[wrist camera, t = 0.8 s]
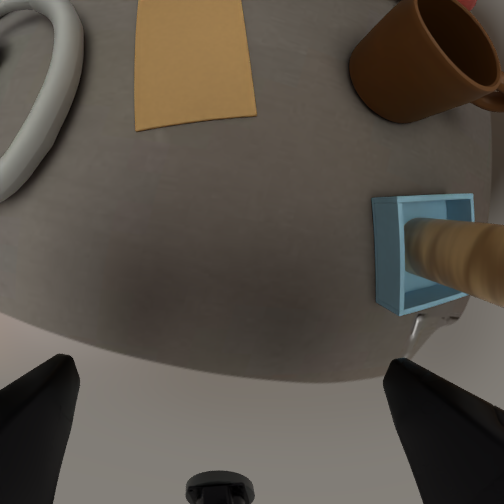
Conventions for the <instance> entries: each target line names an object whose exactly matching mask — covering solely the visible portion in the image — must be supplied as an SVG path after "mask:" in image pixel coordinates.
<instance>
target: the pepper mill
mask: <svg viewBox="0 0 504 504" xmlns="http://www.w3.org/2000/svg"><path fill="white" fill-rule="evenodd" d="M404 244H405V271H407V272H409V273H411V274H414V275H417V276H419V277H422V278H425V279H428V280H431V281H433V282H436V283H439V284H442V285H444V286H447V287H450V288H453V289H455V290H458V291H461V292H463V293H466V294H469V295H471V296H474V297H477V298H479V299H482V300H484V301H487V302H490V303H492V304H495V305H498V306H500V307H503V308H504V225H498V224H489V223H479V222H469V221H458V220H446V219H433V218H413V219H411V220H409V221H408V222H407V223H406V224H405V225H404Z"/></svg>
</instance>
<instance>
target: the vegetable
mask: <svg viewBox="0 0 504 504" xmlns="http://www.w3.org/2000/svg"><path fill="white" fill-rule="evenodd" d="M457 1H458V2H460V3H461V4H462V5H463V6H464V7H466V8H467V9H468V10H469V11H470V10H472V8H473V7H474V6H475V4H476V1H477V0H457Z"/></svg>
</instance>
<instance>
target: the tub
mask: <svg viewBox="0 0 504 504" xmlns="http://www.w3.org/2000/svg"><path fill="white" fill-rule="evenodd" d="M371 200H372V211H373V225H374V242H375V269H376V303H378V304H380V305H381V306H383V307H385V308H386V309H388V310H390V311H391V312H393V313H395V314H396V315H398V316H402V315H405V314H409V313H412V312H416V311H419V310H423V309H426V308H429V307H433V306H436V305H439V304H442V303H445V302H448V301H451V300H454V299H457V298H460V297H463V296H466V295H469V294H466V293H463V292H461V291H458V290H455V289H453V288H450V287H447V286H444V285H442V284H439V283H436V282H433V281H431V280H428V279H425V278H422V277H419V276H417V275H414V274H411V273H409V272H407V271H405V244H404V225H405V224H406V223H407V222H408V221H409V220H411V219H413V218H433V219H446V220H458V221H469V222H474V201H473V194H432V195H410V196H392V197H376V198H371Z"/></svg>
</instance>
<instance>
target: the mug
mask: <svg viewBox="0 0 504 504" xmlns="http://www.w3.org/2000/svg"><path fill="white" fill-rule="evenodd" d="M349 70H350V76H351V80H352V83H353V85H354V87H355V90H356V91H357V93H358V95H359V96H360V97H361V99H362V100H363V101H364V102H365V104H366V105H367V106H368V107H369V108H370V109H371V110H373V111H374V112H375V113H377V114H378V115H380V116H381V117H383V118H385V119H387V120H390V121H393V122H397V123H411V122H415V121H418V120H421V119H424V118H426V117H429V116H432V115H435V114H438V113H441V112H444V111H447V110H449V109H452V108H455V107H458V106H461V105H464V104H466V103H469V102H470V103H472V104H474V105H476V106H478V107H480V108H482V109H485V110H488V111H492V112H504V72H502V71H501V67H500V62H499V59H498V56H497V53H496V50H495V48H494V45H493V43H492V41H491V40H490V38H489V36H488V34H487V33H486V31H485V30H484V28H483V27H482V26H481V24H480V23H479V22H478V20H477V19H476V18H475V17H474V16H473V15H472V13H471V12H470V11H469V10H468V9H467V8H466V7H464V6H463V5H462V4H461V3H460V2H458V1H457V0H401V1H400V2H399V3H398V4H397V5H396V6H395V7H394V8H393V9H392V10H391V11H390V12H389V13H388V14H387V15H386V16H385V17H384V18H383V19H382V20H381V21H380V22H379V23H378V24H377V25H376V26H375V27H374V28H373V29H372V30H371V31H370V32H369V33H368V34H367V35H366V36H365V37H364V38H363V40H362V41H361V42H360V43H359V44H358V45H357V46H356V47H355V49H354V50H353V52H352V55H351V57H350V62H349ZM495 90H497V91H499V92H494V91H495Z"/></svg>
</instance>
